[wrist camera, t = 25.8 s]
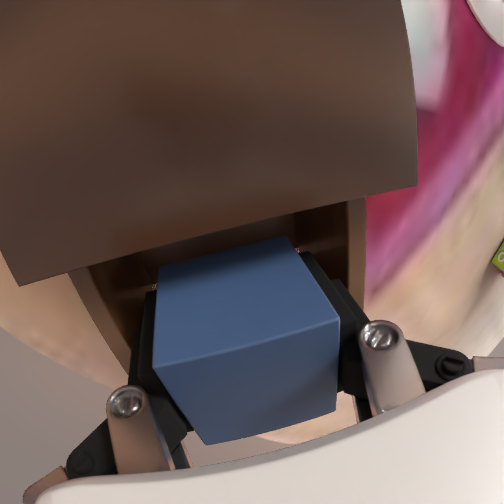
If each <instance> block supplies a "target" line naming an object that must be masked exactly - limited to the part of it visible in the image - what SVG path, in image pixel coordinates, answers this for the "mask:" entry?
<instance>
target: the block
mask: <svg viewBox="0 0 504 504" xmlns="http://www.w3.org/2000/svg"><path fill="white" fill-rule="evenodd" d="M339 343H340V317H339V316H338V314H337V312H336V311H335V309H334V308H333V306H332V305H331V303H330V302H329V300H328V299H327V297H326V295H325V294H324V292H323V291H322V289H321V288H320V286H319V285H318V283H317V282H316V280H315V279H314V277H313V276H312V274H311V273H310V271H309V270H308V268H307V266H306V265H305V263H304V262H303V260H302V259H301V257H300V256H299V254H298V253H297V251H296V250H295V249H294V247H293V246H292V244H291V243H290V241H289V240H288V238H287V237H286V236H285V235H283V236H279V237H275V238H271V239H267V240H263V241H259V242H255V243H251V244H247V245H243V246H239V247H235V248H232V249H228V250H224V251H220V252H216V253H212V254H208V255H204V256H200V257H196V258H192V259H188V260H184V261H180V262H177V263H173V264H169V265H165V266H161V267H159V273H158V283H157V294H156V306H155V320H154V336H153V357H152V368H153V369H154V371H155V373H156V374H157V376H158V377H159V379H160V380H161V382H162V384H163V385H164V387H165V388H166V390H167V391H168V393H169V394H170V396H171V397H172V399H173V400H174V402H175V403H176V405H177V406H178V408H179V409H180V411H181V412H182V414H183V415H184V416H185V418H186V419H187V421H188V422H189V423H190V425H191V426H192V428H193V429H194V430H195V432H196V433H197V434H198V436H199V437H200V438H201V440H202V441H203V442H204V444H205V445H212V444H217V443H222V442H227V441H232V440H237V439H241V438H245V437H250V436H254V435H258V434H262V433H266V432H270V431H273V430H277V429H281V428H284V427H288V426H291V425H295V424H298V423H301V422H304V421H307V420H311V419H314V418H317V417H320V416H323V415H326V414H328V413H331V412H334V411H335V410H336V399H337V384H338V366H339Z"/></svg>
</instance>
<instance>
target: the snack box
mask: <svg viewBox="0 0 504 504" xmlns="http://www.w3.org/2000/svg"><path fill="white" fill-rule="evenodd" d="M492 263H493V264H494V265H495V267H496V268H497V269H498V271H499V272H500V274H501V275H502V276H503V277H504V241H503V243H502V245H501V246H500V248H499V250H498V251H497V253H496V255H495V256H494V258H493V259H492Z"/></svg>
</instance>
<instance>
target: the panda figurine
mask: <svg viewBox="0 0 504 504" xmlns="http://www.w3.org/2000/svg"><path fill="white" fill-rule="evenodd" d="M466 1H467V3H468V5H469V7H470V9H471V11H472V12H473V14H474V16H475V17H476V19H477V21H478V22H479V24H480V25H481V27H482V28H483V29H484V31H485V32H486V33H487V34H488V35H489V36H490V38H491V39H492V40H494V41H495V42H496V43H497V44H498V45H500V46H501V47H503V48H504V0H466Z"/></svg>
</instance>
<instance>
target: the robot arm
mask: <svg viewBox="0 0 504 504" xmlns="http://www.w3.org/2000/svg"><path fill="white" fill-rule="evenodd" d="M298 254H299V256H300V257H301V259H302V260H303V262H304V263H305V265H306V266H307V268H308V270H309V271H310V273H311V274H312V276H313V277H314V279H315V280H316V282H317V283H318V285H319V286H320V288H321V289H322V291H323V292H324V294H325V295H326V297H327V299H328V300H329V302H330V303H331V305H332V306H333V308H334V309H335V311H336V312H337V314H338V316H339V317H340V343H339V366H338V384H337V393H338V392H341V391H344V393H347V394H350V395H352V400H353V405H354V411H355V416H356V421H357V424H356V425H353V426H350V427H348V428H345V429H342V430H340V431H337V432H334V433H331V434H328V435H326V436H323V437H320V438H317V439H314V440H310V441H307V442H304V443H301V444H298V445H294V446H291V447H287V448H284V449H280V450H276V451H273V452H269V453H265V454H261V455H257V456H252V457H248V458H243V459H239V460H234V461H229V462H224V463H218V464H213V465H207V466H201V467H193V464H192V462H191V460H190V457H189V454H188V452H187V449H186V447H185V444H184V442H183V439H184V438H185V436H186V435H187V432H190V431H194V429H193V428H192V426H191V425H190V423H189V422H188V421H187V419H186V418H185V416H184V415H183V414H182V412H181V411H180V409H179V408H178V406H177V405H176V403H175V402H174V400H173V399H172V397H171V396H170V394H169V393H168V391H167V390H166V388H165V387H164V385H163V384H162V382H161V380H160V379H159V377H158V376H157V374H156V373H155V371H154V369H153V368H152V357H153V336H154V320H155V306H156V294H157V289H156V290H152V291H148V292H146V294H145V302H144V310H143V318H142V327H141V329H139V330H135V331H134V333H133V340H132V348H131V357H130V366H129V377H128V385H125V386H122V387H120V388H118V389H116V390H115V391H114V392H113V393H112V394H111V395H110V397H109V398H108V400H107V403H106V412H107V419H106V420H105V421H104V422H102V424H100V425H99V426H98V427H97V429H95V430H94V431H93V432H92V433H91V434H90V435H89V436H88V437H87V438H86V439H85V440H84V441H83V442H82V443H81V444H80V445H79V446H78V447H76V448H75V449H74V450H73V451H72V453H71V454H70V455H69V457H68V459H67V463H66V466H65V467H63V466H59V467H58V468H57V469H55V470H54V471H52V472H51V473H49V474H48V475H46V476H45V477H44V478H42V479H40V480H39V481H37V482H36V483H34V484H33V485H31V486H30V487H28V488H27V489H26V490H25V492H24V494H23V504H504V357H479V356H473V358H472V359H468V358H467V357H466V356H465V355H464V354H463V353H461V352H459V351H456V350H451V349H447V348H442V347H437V346H433V345H428V344H423V343H419V342H415V341H410V340H406V339H405V337H404V335H403V332H402V331H401V329H400V328H399V327H398V326H397V325H396V324H394V323H392V322H390V321H385V320H374V321H370V320H369V319H368V317H367V316H366V315H365V313H364V312H363V310H362V309H361V308H360V306H359V305H358V304H357V302H356V301H355V300H354V298H353V297H352V296H351V294H350V293H349V291H348V290H347V289H346V287H345V286H344V285H343V284H342V282H341V281H340V280H339V279H333V280H330V279H329V278H328V276H327V275H326V274H325V272H324V271H323V270H322V268H321V267H320V265H319V264H318V263H317V261H316V260H315V259H314V257H313V256H312V254H311V253H310V252H309V251H305V252H301V253H298Z"/></svg>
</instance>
